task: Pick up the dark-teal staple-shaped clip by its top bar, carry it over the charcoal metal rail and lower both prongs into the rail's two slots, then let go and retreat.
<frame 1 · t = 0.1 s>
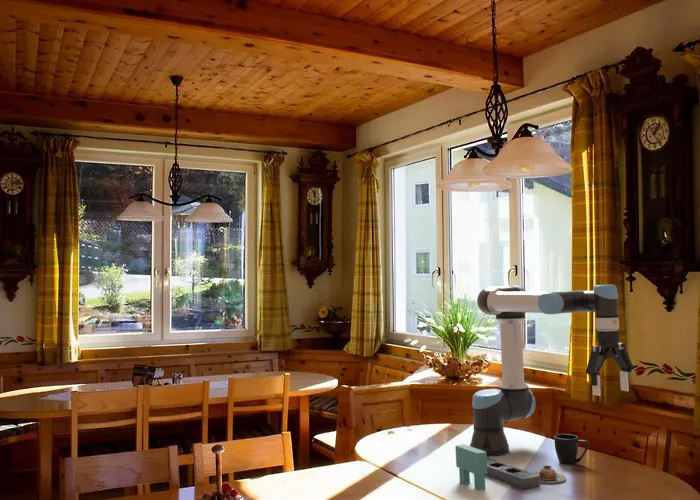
hand: (611, 393, 219), 28 cm above the table, fingers open, 13 cm apart
clip: (472, 485, 214), on the table
mug: (572, 464, 235), on the table
pastry: (547, 480, 218), on the table
rail: (505, 478, 221), on the table
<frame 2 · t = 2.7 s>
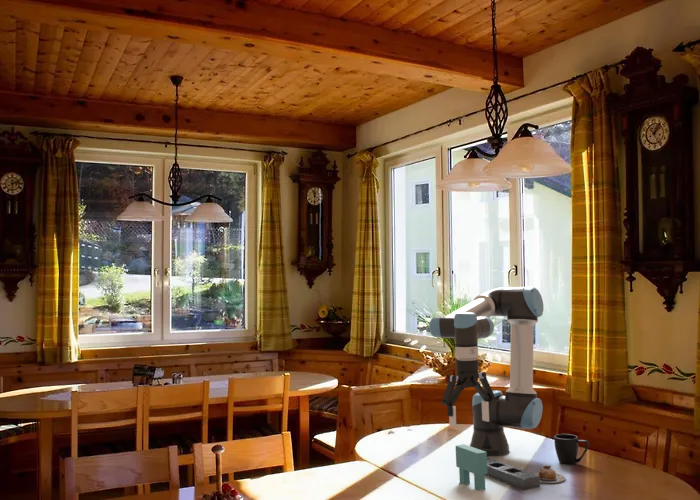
hand: (469, 423, 215), 20 cm above the table, fingers open, 13 cm apart
nothing on the table moved.
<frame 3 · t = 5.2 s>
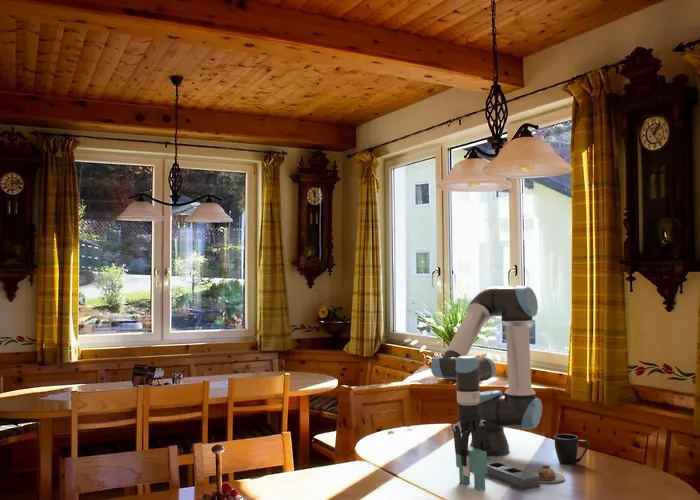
hand: (471, 474, 214), 4 cm above the table, fingers closed on clip, 3 cm apart
clip: (472, 485, 214), on the table, touching gripper
everything else where it was.
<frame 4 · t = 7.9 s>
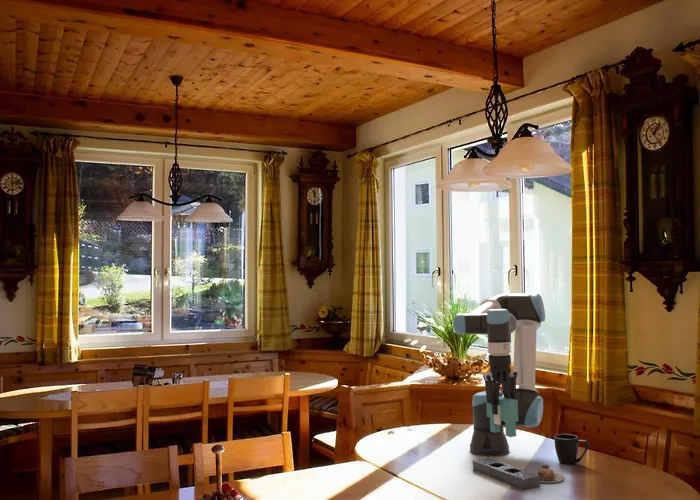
hand: (502, 423, 221), 19 cm above the table, fingers closed on clip, 3 cm apart
clip: (503, 433, 221), point 15 cm above the table, touching gripper
everything else where it was.
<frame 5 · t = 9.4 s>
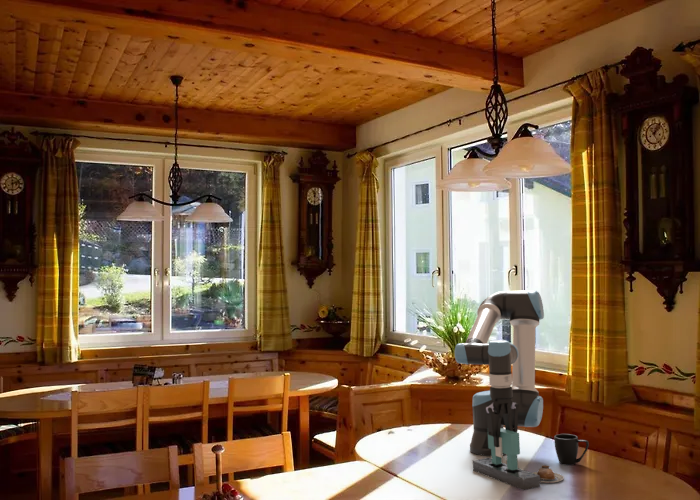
hand: (503, 455, 221), 8 cm above the table, fingers closed on clip, 3 cm apart
clip: (504, 466, 221), point 4 cm above the table, touching gripper
everything else where it was.
when the fingers open (6 cm above the table, at t = 10.7 s): clip drops 2 cm, resting in rail.
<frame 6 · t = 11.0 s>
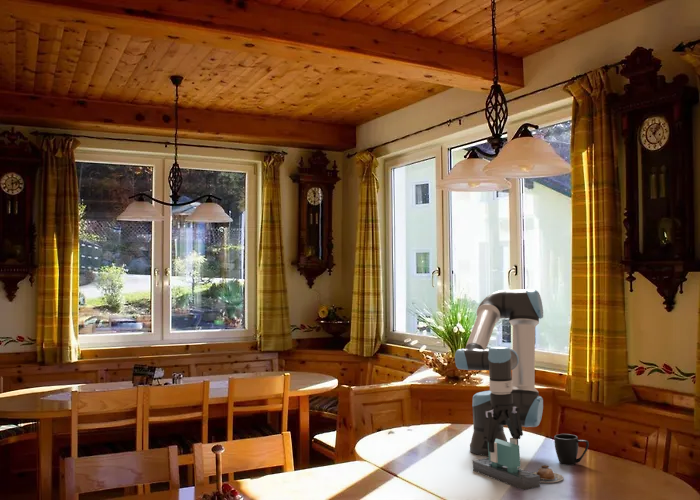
hand: (504, 459, 221), 6 cm above the table, fingers open, 8 cm apart
clip: (505, 478, 221), resting in rail
everything else where it was.
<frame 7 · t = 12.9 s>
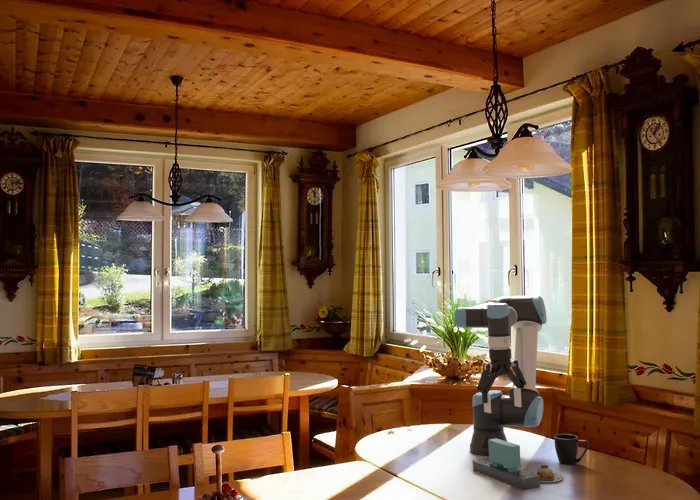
hand: (503, 409, 224), 23 cm above the table, fingers open, 13 cm apart
nothing on the table moved.
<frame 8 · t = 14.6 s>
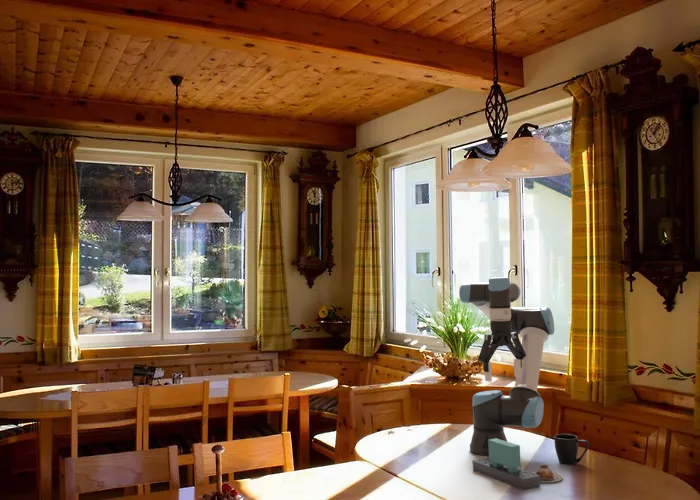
hand: (503, 379, 233), 32 cm above the table, fingers open, 13 cm apart
at the end: clip 0.0 cm off-centre on the rail, point 0.0 cm above the rail's base; clip tilted 0°; the gripper is holding nothing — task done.
